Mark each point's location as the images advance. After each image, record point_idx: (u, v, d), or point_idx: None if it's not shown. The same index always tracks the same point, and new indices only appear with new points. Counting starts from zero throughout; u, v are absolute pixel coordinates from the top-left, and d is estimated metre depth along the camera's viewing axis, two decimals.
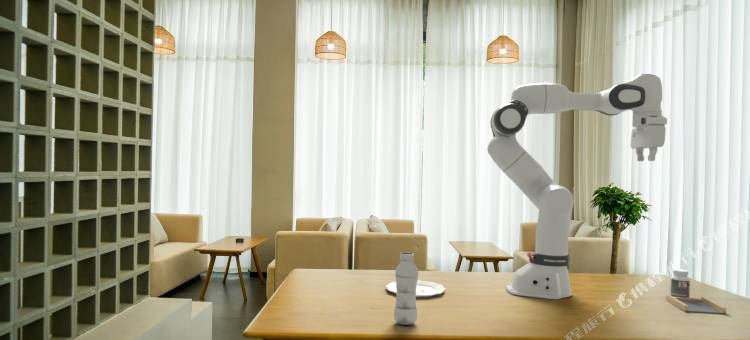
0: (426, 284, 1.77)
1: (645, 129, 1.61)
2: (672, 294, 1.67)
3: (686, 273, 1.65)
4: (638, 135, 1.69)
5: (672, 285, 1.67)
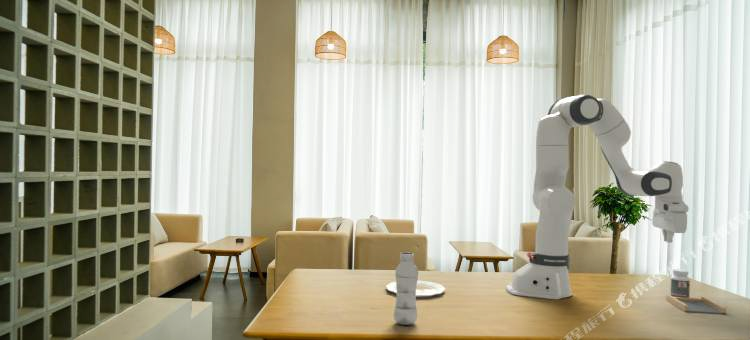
0: (426, 284, 1.77)
1: (667, 214, 1.73)
2: (672, 294, 1.67)
3: (686, 273, 1.65)
4: (660, 216, 1.81)
5: (672, 285, 1.67)
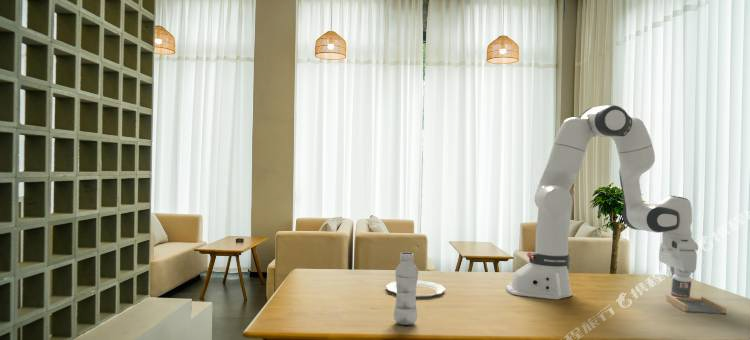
0: (426, 284, 1.77)
1: (676, 252, 1.66)
2: (672, 293, 1.67)
3: (688, 274, 1.63)
4: (667, 252, 1.74)
5: (673, 285, 1.66)
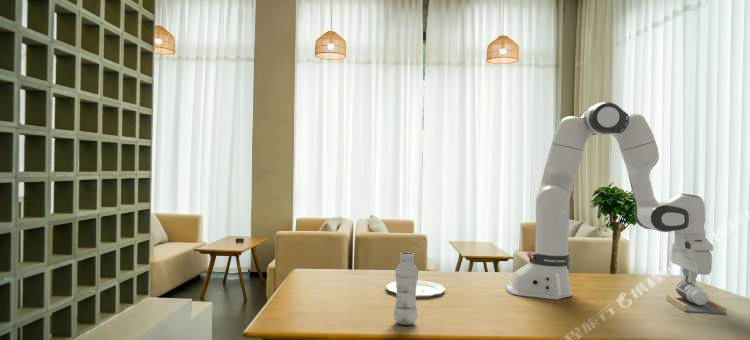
0: (426, 284, 1.77)
1: (689, 253, 1.57)
2: (677, 291, 1.64)
3: None
4: (680, 253, 1.65)
5: (682, 293, 1.61)
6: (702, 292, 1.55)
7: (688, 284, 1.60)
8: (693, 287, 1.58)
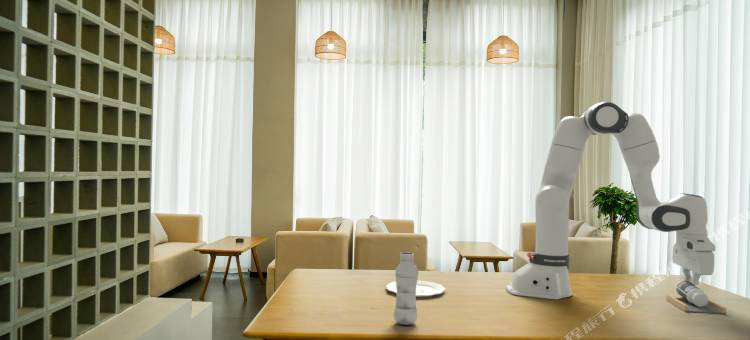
0: (426, 284, 1.77)
1: (691, 253, 1.56)
2: (677, 291, 1.64)
3: None
4: (682, 253, 1.64)
5: (682, 294, 1.60)
6: (702, 294, 1.54)
7: (689, 285, 1.60)
8: (694, 289, 1.57)
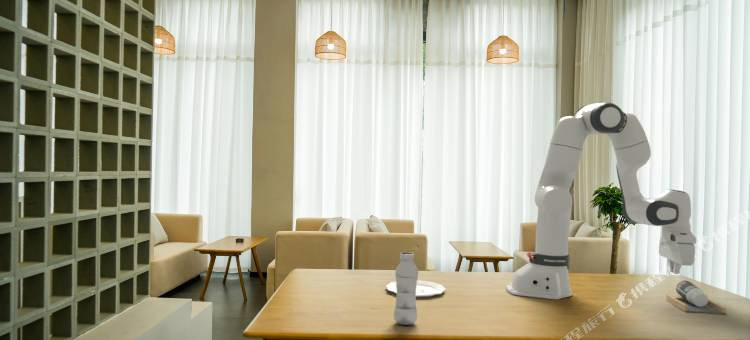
0: (426, 284, 1.77)
1: (674, 245, 1.67)
2: (677, 291, 1.64)
3: None
4: (667, 246, 1.75)
5: (682, 294, 1.60)
6: (702, 294, 1.54)
7: (688, 285, 1.60)
8: (693, 289, 1.57)
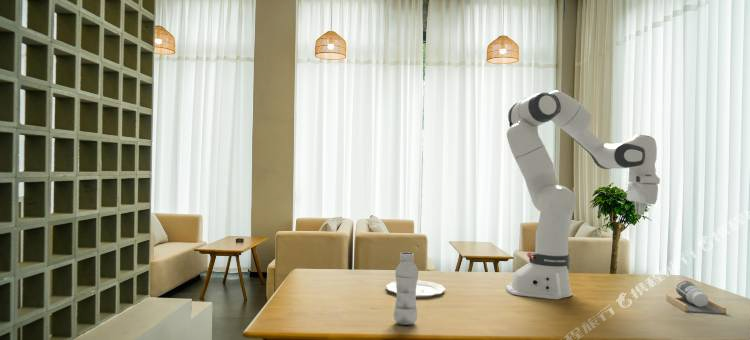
0: (426, 284, 1.77)
1: (639, 186, 1.76)
2: (677, 291, 1.64)
3: None
4: (633, 190, 1.84)
5: (682, 294, 1.60)
6: (702, 294, 1.54)
7: (688, 285, 1.60)
8: (693, 289, 1.57)
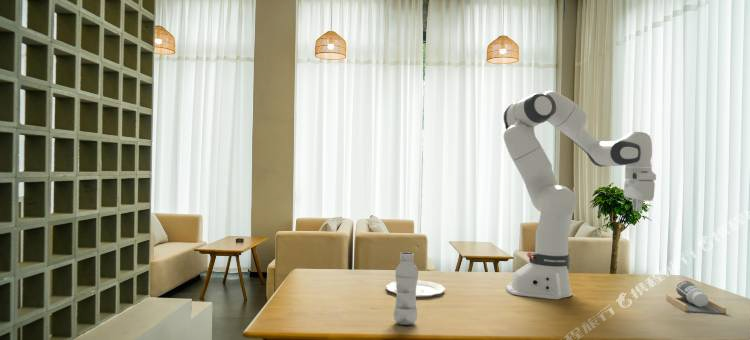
0: (426, 284, 1.77)
1: (636, 183, 1.77)
2: (677, 291, 1.64)
3: None
4: (630, 186, 1.84)
5: (682, 294, 1.60)
6: (702, 294, 1.54)
7: (688, 285, 1.60)
8: (693, 289, 1.57)
